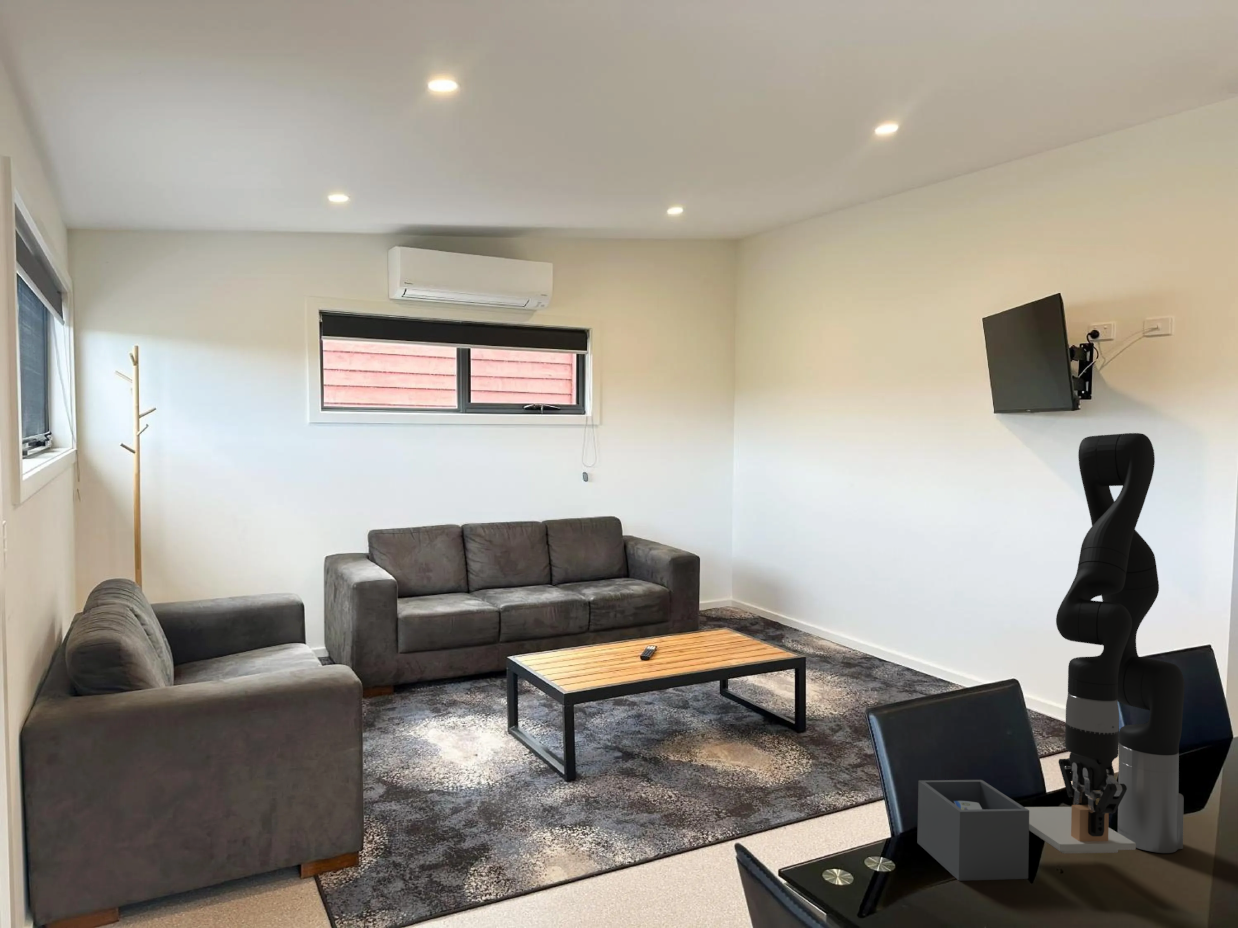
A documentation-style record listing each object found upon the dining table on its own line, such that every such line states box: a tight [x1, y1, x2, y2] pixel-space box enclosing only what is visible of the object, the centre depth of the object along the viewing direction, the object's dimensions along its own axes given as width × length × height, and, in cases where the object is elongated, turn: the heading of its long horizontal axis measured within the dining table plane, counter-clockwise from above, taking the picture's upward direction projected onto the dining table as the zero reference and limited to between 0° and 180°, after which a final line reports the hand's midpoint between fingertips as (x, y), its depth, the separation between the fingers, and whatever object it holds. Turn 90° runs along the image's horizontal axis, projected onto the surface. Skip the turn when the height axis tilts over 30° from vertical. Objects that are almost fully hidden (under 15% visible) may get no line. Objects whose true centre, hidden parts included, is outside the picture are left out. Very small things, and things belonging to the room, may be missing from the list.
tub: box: [916, 779, 1030, 881], centre depth 140 cm, size 12×14×11 cm
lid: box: [1023, 804, 1137, 854], centre depth 138 cm, size 13×15×7 cm
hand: (1090, 831), depth 132 cm, fingers closed on lid
